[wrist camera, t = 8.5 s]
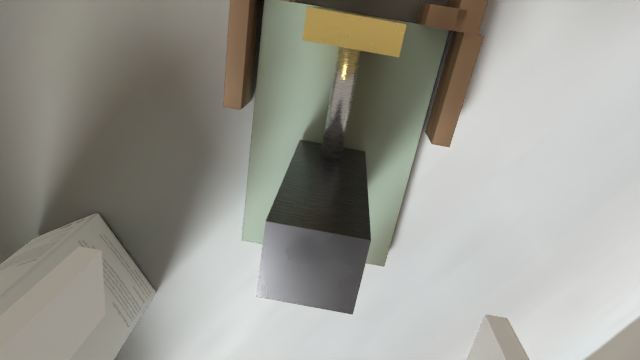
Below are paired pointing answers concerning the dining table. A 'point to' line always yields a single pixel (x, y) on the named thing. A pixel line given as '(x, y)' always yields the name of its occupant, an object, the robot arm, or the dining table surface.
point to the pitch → (367, 105)
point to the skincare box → (118, 273)
